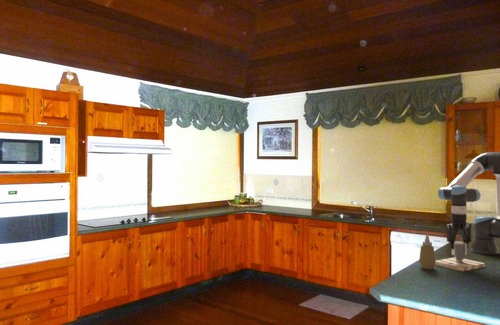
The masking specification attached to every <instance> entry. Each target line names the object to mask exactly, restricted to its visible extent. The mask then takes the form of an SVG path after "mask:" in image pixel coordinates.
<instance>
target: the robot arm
mask: <svg viewBox="0 0 500 325" xmlns="http://www.w3.org/2000/svg"><path fill="white" fill-rule="evenodd" d="M467 165H468V166H467V167H466V168H465V169H463V171H462V172H461V173H460V174H459V175H458V176H457V177H456V178H454V180H452V181H451V182H450V183H449V184H448V185H447V186H446V187H445V186H444V187H439V189H438V190H437V191H438V192H437V196H438V198H439V199H440V200H442V201H443V200H444V201H451V204H450V206H451V207H450V208H451V211H450V212H451V215H450V216H451V223H449V224H448V223H447V224H446V228H447V230H446V231H447V232H446V242H448V243H449V247H450V250H451V255H452V256H455V255H456V244H455V241H456V238H457V235H458V232H460V234H461V237H462V243H463V245H464V256H468V255H467V254H468V251H467V250H468V248H469V247H468V246H469V244H470V242H472V230H471V229H472V224H471V223H467V219H468V218H467V203H471V202H472V203H474V202H475V203H476V202H478V201H479V200H480V199H481V192H480V191H479V189H476V188H467V186H468V185H469V184H470V183H471V182H472V181H473V180H474V179H476V177H477V176H478V175H481V174H483V173H484V172H486V171H489V172H490V171H492V174H493V176H495V179H496V180H495V181H496V182H495V183H496V198H497V199H496V202H497V215H496V216H491V215H490V216H477V217H476V216H475V218H474V220H473V242H472V244H471V248H470V252H472V253H475V254H480V255H487V256H488V255H491V256H492V255H498V254H499V248H498V246H497V243H496V239H500V151H487V152H483V153H481V154H479V155H478V156H475V157H474V158H473V159H472V160H470V161H469V163H468V164H467Z"/></svg>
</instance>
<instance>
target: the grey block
mask: <svg viewBox="0 0 500 325" xmlns="http://www.w3.org/2000/svg"><path fill="white" fill-rule="evenodd" d="M462 242H463V240H462V241H459V240H455V242H454V243H455V244H456V255H454V257H456V259H465V258H464V256H465V255H464V245H463V243H462Z"/></svg>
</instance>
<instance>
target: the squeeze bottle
mask: <svg viewBox="0 0 500 325" xmlns="http://www.w3.org/2000/svg"><path fill="white" fill-rule="evenodd" d="M419 250H420V251H419V260H418V262H419V265H420V266H421V267H420V268H421V269H424V270H430V271H431V270H434V268H435V266H436V265H435V261H436V254H435V247H434V246H433V242H432V241H430V237H429V235H428V234H426V235H425V238H424V241H422V245H421V246H420V249H419Z"/></svg>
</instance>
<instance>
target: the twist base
mask: <svg viewBox="0 0 500 325" xmlns="http://www.w3.org/2000/svg"><path fill="white" fill-rule="evenodd" d="M434 266H439V267H443V268H447V269H452V270H455V271H459V272H467V271H472V270H476V269H481V268H485V267H486V264H485V262H481V261H477V260H476V261H475V260H471V259H467V258H464V259H456V257H455V256H453V257H450V258H449V257H448V258H442V259H438V260H437V259H435V265H434Z"/></svg>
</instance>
